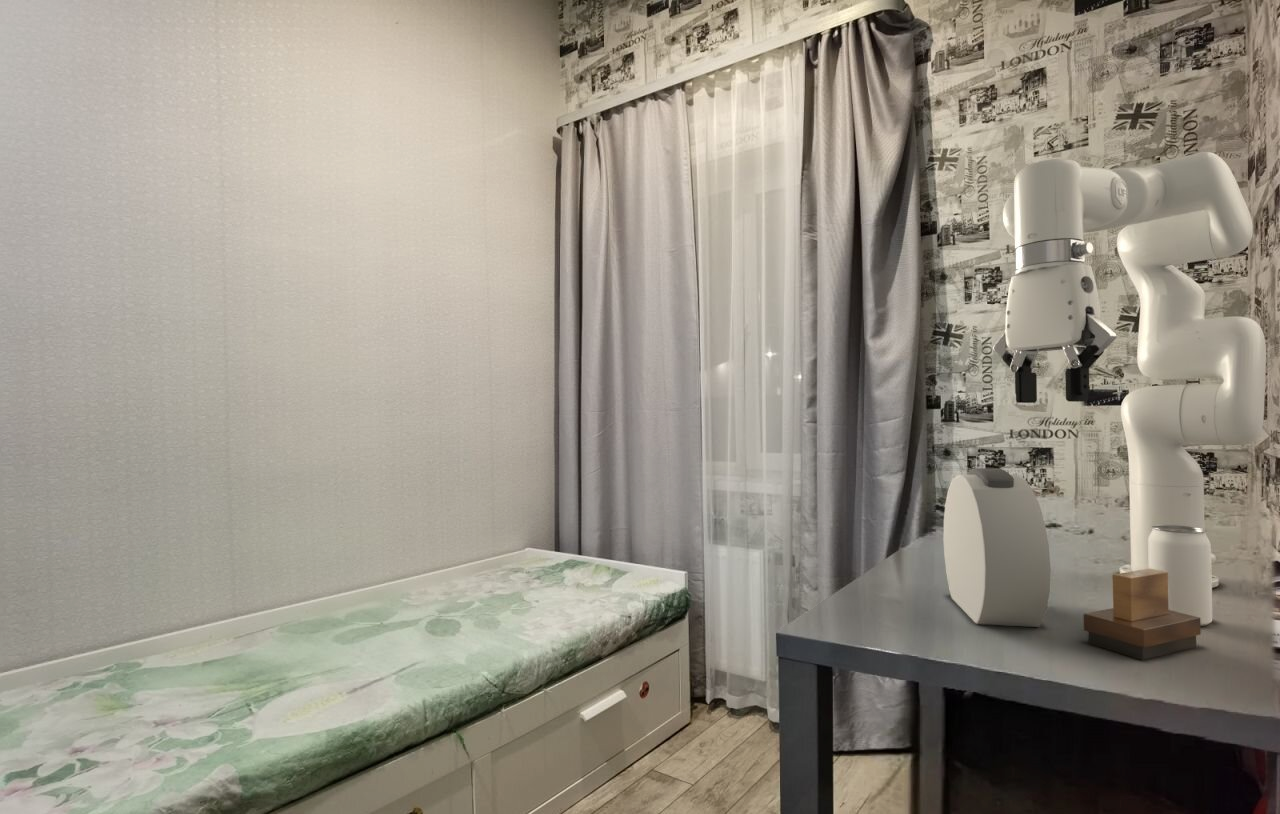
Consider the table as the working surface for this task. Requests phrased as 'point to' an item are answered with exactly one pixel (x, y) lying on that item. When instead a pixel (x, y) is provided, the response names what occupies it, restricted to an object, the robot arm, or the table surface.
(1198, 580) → the can
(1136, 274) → the robot arm
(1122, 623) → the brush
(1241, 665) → the table surface
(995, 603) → the alarm clock
